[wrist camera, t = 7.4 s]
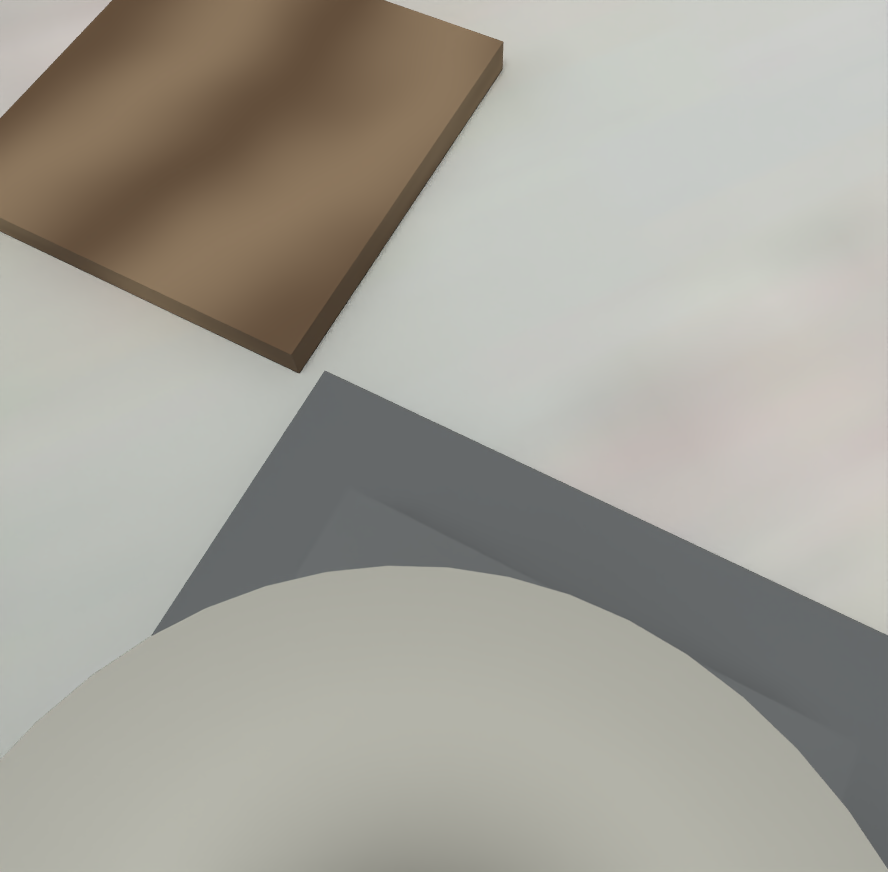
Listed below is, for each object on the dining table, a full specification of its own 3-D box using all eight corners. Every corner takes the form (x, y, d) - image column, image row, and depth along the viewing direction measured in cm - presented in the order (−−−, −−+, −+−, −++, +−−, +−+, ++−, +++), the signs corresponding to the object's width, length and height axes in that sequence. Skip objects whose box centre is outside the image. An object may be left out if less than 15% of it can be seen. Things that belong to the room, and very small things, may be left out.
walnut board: (-45, 210, 24) (-65, 187, 23) (189, -43, 28) (179, -71, 27) (299, 373, 21) (291, 354, 20) (502, 68, 25) (503, 41, 24)
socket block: (-95, 1047, 16) (-300, 1143, 11) (331, 388, 21) (295, 292, 17) (688, 1665, 12) (797, 2120, 8) (960, 687, 17) (1109, 658, 13)
